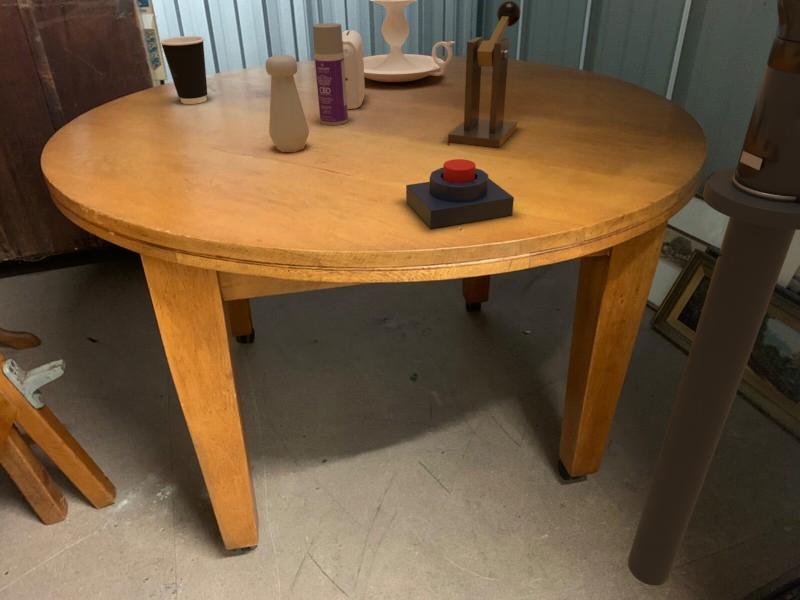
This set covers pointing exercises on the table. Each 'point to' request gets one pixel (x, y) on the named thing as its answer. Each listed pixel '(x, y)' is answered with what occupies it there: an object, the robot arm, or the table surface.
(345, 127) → the table surface
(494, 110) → the lever stand
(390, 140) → the table surface
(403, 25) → the candlestick
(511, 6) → the lock lever
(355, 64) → the photo printer
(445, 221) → the button housing
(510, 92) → the table surface
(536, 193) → the table surface
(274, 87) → the salt shaker
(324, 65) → the container
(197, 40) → the dixie cup
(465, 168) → the release button
